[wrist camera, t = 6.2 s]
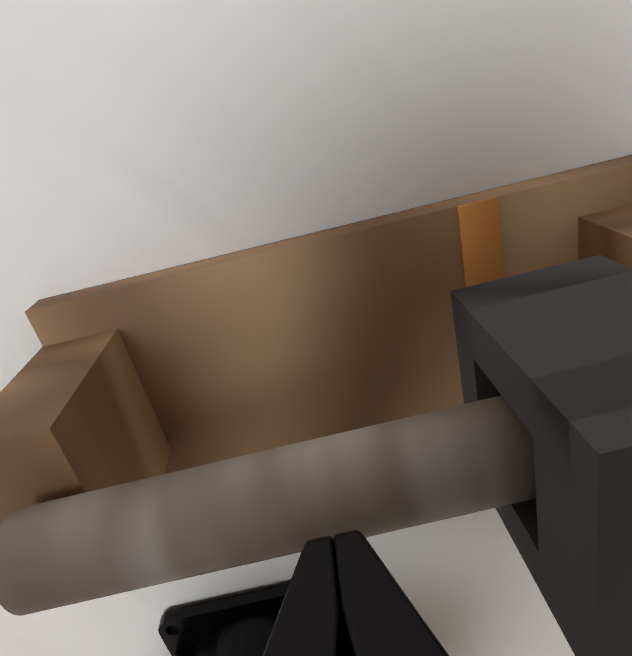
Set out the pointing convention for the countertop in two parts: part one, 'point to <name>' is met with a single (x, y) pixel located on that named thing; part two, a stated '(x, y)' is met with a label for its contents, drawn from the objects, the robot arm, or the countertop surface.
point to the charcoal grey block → (565, 432)
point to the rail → (276, 394)
